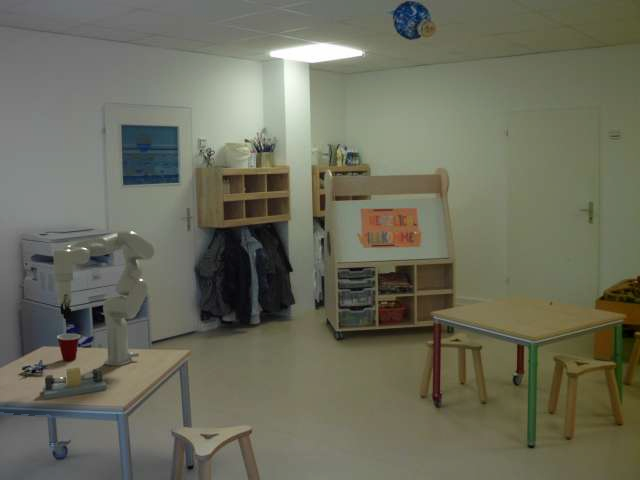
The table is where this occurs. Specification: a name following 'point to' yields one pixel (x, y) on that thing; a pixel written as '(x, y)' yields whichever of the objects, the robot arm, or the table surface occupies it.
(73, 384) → the olive yellow block
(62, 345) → the plastic cup
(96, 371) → the shaft
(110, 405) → the table surface
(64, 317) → the robot arm
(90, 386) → the board
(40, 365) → the toy airplane
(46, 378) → the shaft
